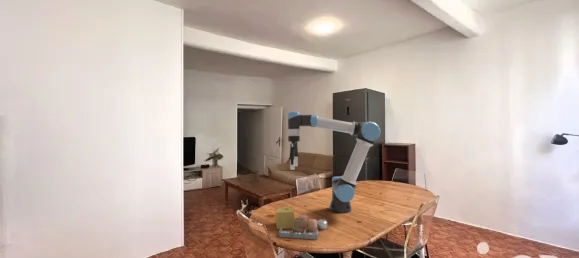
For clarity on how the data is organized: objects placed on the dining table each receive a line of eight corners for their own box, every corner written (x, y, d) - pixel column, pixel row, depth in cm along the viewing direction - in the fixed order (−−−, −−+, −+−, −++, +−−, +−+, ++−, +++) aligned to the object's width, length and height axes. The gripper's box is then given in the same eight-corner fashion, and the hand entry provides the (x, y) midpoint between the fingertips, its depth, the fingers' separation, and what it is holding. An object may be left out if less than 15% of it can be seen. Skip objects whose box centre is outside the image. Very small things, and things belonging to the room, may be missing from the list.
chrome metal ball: (327, 226, 156) (327, 219, 156) (327, 230, 150) (327, 223, 150) (317, 225, 157) (317, 219, 157) (316, 229, 151) (316, 223, 151)
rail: (318, 233, 146) (318, 228, 146) (317, 239, 138) (317, 234, 138) (281, 231, 149) (281, 226, 149) (278, 236, 142) (278, 232, 142)
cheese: (275, 222, 162) (275, 206, 162) (293, 222, 163) (292, 206, 163) (276, 229, 152) (276, 212, 152) (294, 228, 153) (294, 211, 152)
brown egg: (308, 225, 158) (307, 215, 158) (307, 228, 153) (307, 218, 153) (299, 224, 159) (299, 214, 159) (298, 227, 154) (298, 217, 154)
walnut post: (295, 231, 147) (295, 217, 147) (303, 232, 147) (303, 217, 147) (294, 235, 143) (294, 220, 143) (302, 235, 142) (302, 220, 142)
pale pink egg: (317, 229, 152) (317, 219, 151) (316, 233, 147) (316, 222, 146) (308, 228, 152) (308, 218, 152) (307, 232, 147) (307, 221, 147)
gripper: (291, 134, 185) (291, 164, 186) (284, 136, 161) (284, 171, 161) (302, 134, 184) (302, 164, 185) (296, 136, 159) (296, 171, 160)
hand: (294, 167), depth 173 cm, fingers open, 13 cm apart
